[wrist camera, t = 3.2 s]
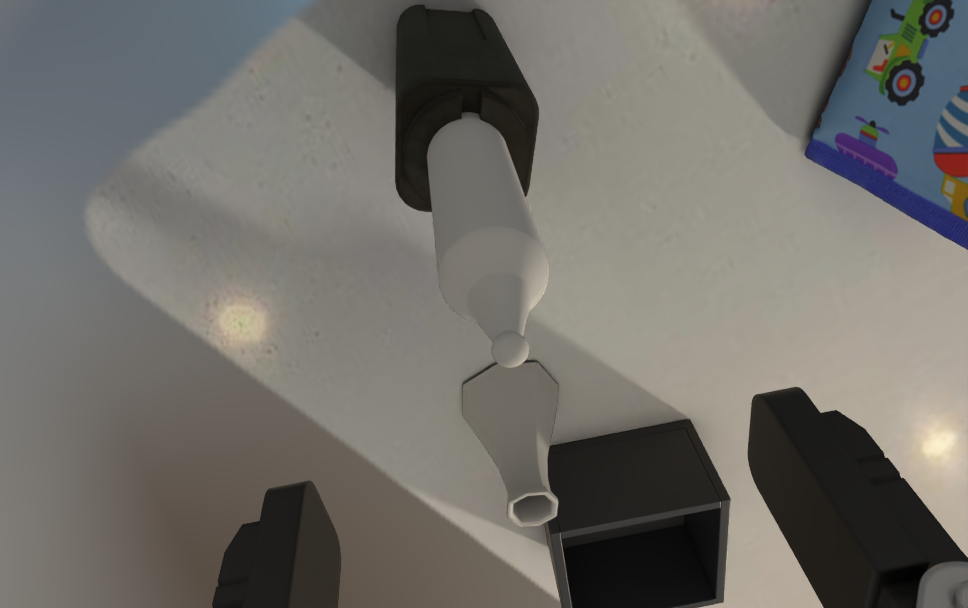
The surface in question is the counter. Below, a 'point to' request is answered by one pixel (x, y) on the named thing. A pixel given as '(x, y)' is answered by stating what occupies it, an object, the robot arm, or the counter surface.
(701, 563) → the bin
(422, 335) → the counter surface
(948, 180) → the lunch bag
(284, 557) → the robot arm
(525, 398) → the flask
